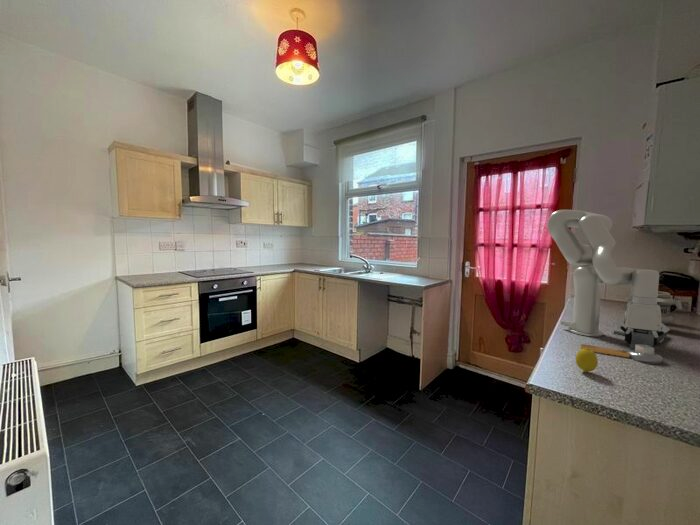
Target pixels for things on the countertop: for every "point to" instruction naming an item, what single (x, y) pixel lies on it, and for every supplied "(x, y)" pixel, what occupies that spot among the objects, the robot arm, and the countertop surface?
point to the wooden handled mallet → (630, 353)
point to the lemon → (586, 360)
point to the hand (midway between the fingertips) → (639, 344)
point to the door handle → (656, 331)
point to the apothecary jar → (665, 307)
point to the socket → (641, 338)
